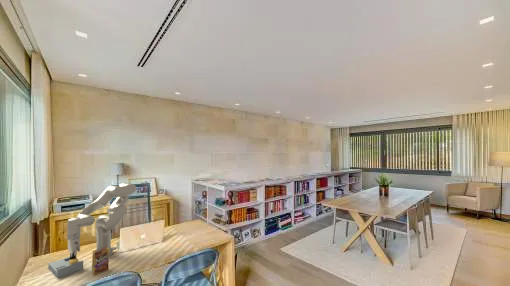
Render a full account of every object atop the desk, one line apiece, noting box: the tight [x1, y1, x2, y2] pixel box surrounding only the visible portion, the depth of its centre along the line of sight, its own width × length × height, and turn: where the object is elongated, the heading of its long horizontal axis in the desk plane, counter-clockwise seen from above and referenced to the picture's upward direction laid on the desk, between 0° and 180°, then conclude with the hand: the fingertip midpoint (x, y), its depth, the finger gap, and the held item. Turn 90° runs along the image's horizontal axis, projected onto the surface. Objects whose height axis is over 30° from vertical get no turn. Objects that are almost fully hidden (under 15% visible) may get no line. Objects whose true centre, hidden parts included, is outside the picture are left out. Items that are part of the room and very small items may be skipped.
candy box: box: [91, 247, 110, 276], centre depth 154 cm, size 9×4×15 cm, turn 140°
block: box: [69, 257, 79, 265], centre depth 156 cm, size 4×4×4 cm
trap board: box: [47, 256, 84, 279], centre depth 158 cm, size 14×21×6 cm, turn 55°
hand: (72, 261), depth 159 cm, fingers closed
